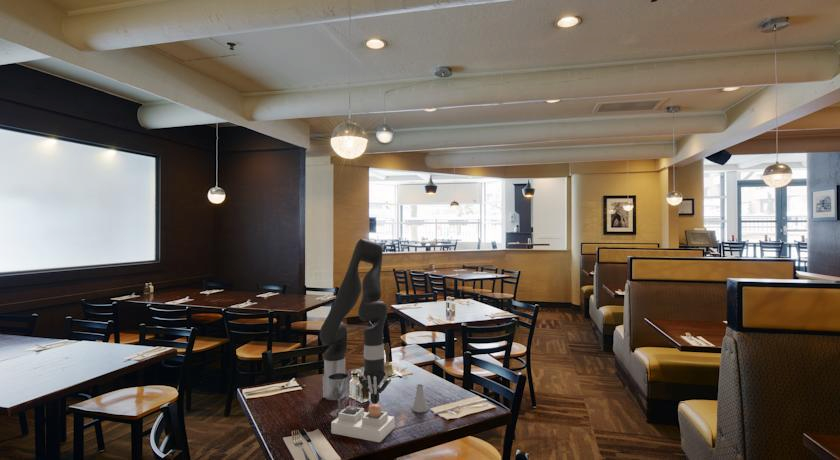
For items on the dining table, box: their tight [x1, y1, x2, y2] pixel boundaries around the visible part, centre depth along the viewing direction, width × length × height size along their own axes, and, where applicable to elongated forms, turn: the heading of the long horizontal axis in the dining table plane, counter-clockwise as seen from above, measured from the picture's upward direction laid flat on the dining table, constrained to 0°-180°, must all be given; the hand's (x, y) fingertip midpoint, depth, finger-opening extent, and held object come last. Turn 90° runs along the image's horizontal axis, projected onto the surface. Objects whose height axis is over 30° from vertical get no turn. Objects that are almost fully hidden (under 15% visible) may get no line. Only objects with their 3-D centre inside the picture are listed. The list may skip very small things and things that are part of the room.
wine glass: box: [329, 372, 349, 418], centre depth 175 cm, size 8×8×15 cm
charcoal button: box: [344, 405, 358, 415], centre depth 161 cm, size 4×4×3 cm
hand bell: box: [384, 342, 395, 378], centre depth 220 cm, size 8×8×16 cm
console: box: [330, 405, 396, 443], centre depth 159 cm, size 20×12×6 cm, turn 68°
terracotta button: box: [368, 403, 382, 417], centre depth 157 cm, size 4×4×3 cm
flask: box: [411, 383, 429, 414], centre depth 176 cm, size 7×7×10 cm
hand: (375, 403), depth 157 cm, fingers closed
